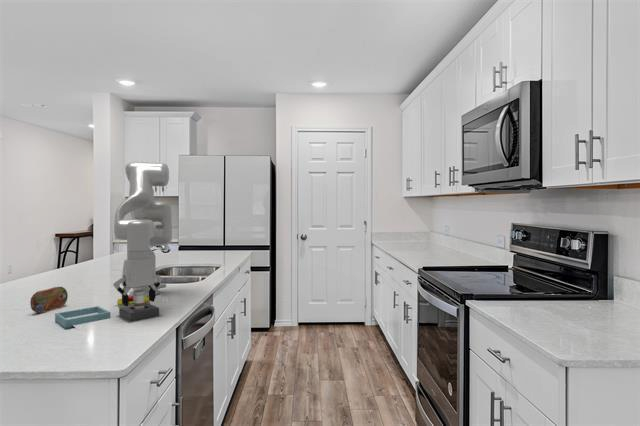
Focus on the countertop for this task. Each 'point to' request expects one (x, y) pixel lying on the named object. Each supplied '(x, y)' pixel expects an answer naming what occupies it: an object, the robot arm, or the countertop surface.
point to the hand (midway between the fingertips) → (139, 303)
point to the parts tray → (69, 323)
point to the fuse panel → (138, 313)
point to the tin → (49, 299)
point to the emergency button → (131, 301)
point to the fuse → (139, 299)
